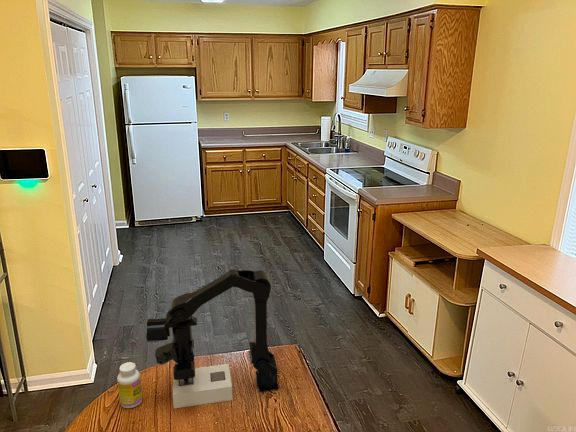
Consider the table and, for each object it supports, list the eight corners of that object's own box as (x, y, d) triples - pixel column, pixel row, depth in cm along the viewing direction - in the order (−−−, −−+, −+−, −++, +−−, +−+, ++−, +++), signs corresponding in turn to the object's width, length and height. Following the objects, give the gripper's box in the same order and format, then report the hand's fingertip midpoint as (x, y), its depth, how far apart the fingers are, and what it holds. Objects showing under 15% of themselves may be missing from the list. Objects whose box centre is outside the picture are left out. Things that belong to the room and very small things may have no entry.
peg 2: (224, 384, 149) (223, 371, 148) (225, 392, 146) (224, 379, 144) (211, 386, 149) (211, 373, 147) (212, 394, 145) (211, 380, 143)
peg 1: (193, 388, 147) (192, 375, 146) (193, 396, 144) (192, 383, 142) (180, 390, 147) (179, 377, 145) (180, 398, 143) (179, 385, 141)
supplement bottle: (135, 410, 138) (131, 374, 134) (116, 407, 139) (111, 372, 135) (146, 396, 144) (142, 361, 140) (127, 393, 145) (123, 359, 142)
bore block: (229, 376, 154) (228, 363, 152) (232, 399, 142) (232, 386, 141) (174, 383, 150) (173, 370, 148) (173, 408, 139) (172, 394, 137)
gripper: (157, 324, 146) (161, 366, 151) (153, 358, 129) (158, 404, 133) (192, 320, 148) (195, 361, 153) (193, 353, 131) (196, 398, 136)
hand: (186, 380), depth 144 cm, fingers closed, pressing on peg 1
